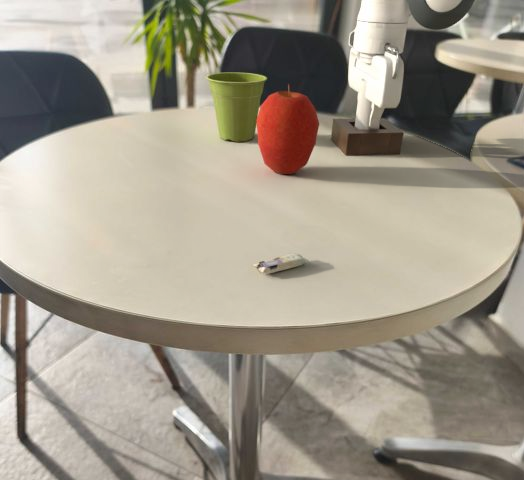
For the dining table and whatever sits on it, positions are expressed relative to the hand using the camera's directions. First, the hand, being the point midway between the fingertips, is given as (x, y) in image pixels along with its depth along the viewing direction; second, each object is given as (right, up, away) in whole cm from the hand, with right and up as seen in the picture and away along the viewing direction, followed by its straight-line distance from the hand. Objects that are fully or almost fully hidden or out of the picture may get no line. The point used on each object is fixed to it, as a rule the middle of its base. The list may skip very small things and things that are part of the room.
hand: (367, 122), depth 97 cm
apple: (-17, -14, -10) cm, 24 cm away
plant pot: (-26, -1, +6) cm, 27 cm away
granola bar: (-19, -35, -38) cm, 55 cm away
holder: (0, -3, +3) cm, 5 cm away
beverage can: (0, -4, +3) cm, 5 cm away
